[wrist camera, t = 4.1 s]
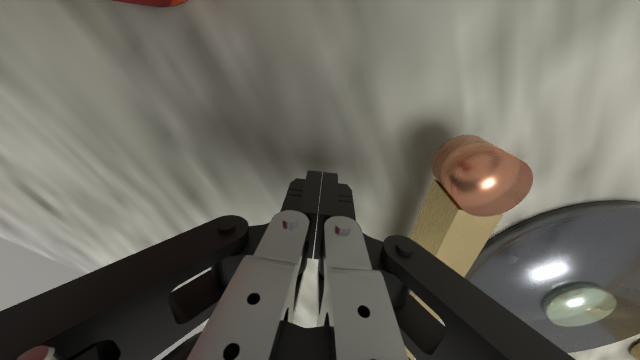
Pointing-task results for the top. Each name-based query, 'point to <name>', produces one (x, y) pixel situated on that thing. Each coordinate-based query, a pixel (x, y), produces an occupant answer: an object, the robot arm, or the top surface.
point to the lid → (569, 273)
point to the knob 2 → (636, 351)
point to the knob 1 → (467, 201)
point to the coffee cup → (154, 2)
